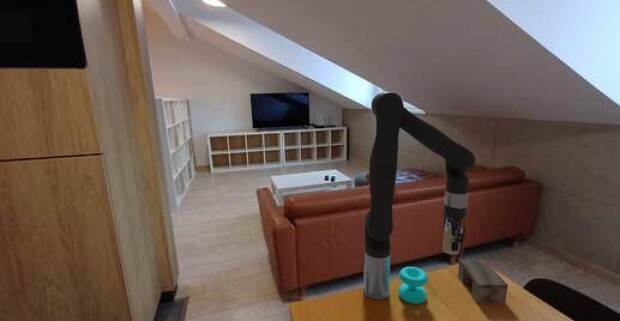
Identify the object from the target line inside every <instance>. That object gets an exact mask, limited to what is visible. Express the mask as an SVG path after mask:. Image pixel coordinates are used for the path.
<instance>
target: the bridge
mask: <svg viewBox="0 0 620 321" xmlns="http://www.w3.org/2000/svg"><path fill="white" fill-rule="evenodd" d="M457 272H458V273H457V277H458V278H459V280H460V281H461V282H462V283H472V287H471V297H472V299H473V300H474V301H475V303H477V304H506V302H507V301H506V299H507V293H508V286H509V285H508V284H507V283H506V281H505V280H504V279H503V278H502V277H501V276H500V275H499V274H498V273H497V271H496V270H495V269H494V268H493V267H492V266H491V265H490V264H489V262H488V261H487V260H485V259H459V263H458V271H457Z"/></svg>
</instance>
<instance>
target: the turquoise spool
mask: <svg viewBox="0 0 620 321" xmlns="http://www.w3.org/2000/svg"><path fill="white" fill-rule="evenodd" d="M399 279H400V281H402V284H400V286H399V287H398V295H399V296H400V298H401V299H402V300H403V301H405V302H406V303H409V304H413V305H414V304H415V305H418V304H422V303H424V302H425V301H426V300H427V297H428V296H427V291H426V290H425V288H424V286H425V285H426V284H427V283H428V280H429V277H428V274H427V272H426V271H424V270H423V269H421V268H420V267H415V266H405V267H403V268H402V269H401V270H400V271H399Z"/></svg>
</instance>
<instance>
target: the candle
mask: <svg viewBox="0 0 620 321" xmlns="http://www.w3.org/2000/svg"><path fill="white" fill-rule="evenodd" d="M453 233H456V231H453ZM451 246H452V235H451V234H450V227H449V226H447V227H445V229H444V232H443V243H442V251H443V253H446V254H448V255H451V256H452V255H453V256H454V255H455V256H456V255H459V254H460V249H461V248H460V246H461V243H459V248H458V251H452V250H451Z"/></svg>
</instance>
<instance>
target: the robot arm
mask: <svg viewBox="0 0 620 321" xmlns="http://www.w3.org/2000/svg"><path fill="white" fill-rule="evenodd" d="M370 106H371V111H372V113H373V114H374V116H375V126H376V128H375V129H376V130H375V139H374V142H373V144H372V145H373V146H372V149H371V153H370V157H369V166H368V168H369V171H368V183H369V192H370V209H369V211H368V212H367V213H366V214H365V218H364V266H363V292H364V296H365V298H369V299H372V300H378V301H381V300H385V299H387V298H388V297H389V294H390V277H391V276H390V274H391V273H390V272H391V271H390V270H391V252H392V251H391V237H390V236H391V235H392V233H393V230H394V224H393V223H394V222H393V221H394V220H393V204H394V202H393V201H394V196H395V189H396V188H395V187H396V182H397V181H396V180H397V175H398V174H397V172H398V158H399V157H398V156H399V155H398V154H399V135H400V129H402V130H403V131H404V132H405V133H406V134H408V135H410V136H411V137H412V138H414V140H416V141H417V142H419V143H420V144H421V145H422V146H424V147H426V149H427V150H429V151H431V152H432V153H434V154H435V155H437V156H439V157H441V158H443V159H444V164H445V173H446V182H445V184H446V185H445V193H444V197H443V199H444V200H443V210H442V214H443V216H442V228H443V229H444V230H445V227H447V226H449V227H450V234H451V235H452V246H451V250H452V251H458V248H459V243H460V244H461V243H462V244H463V243H464V239H465V234H466V228H465V227H462V226H463V225H462V221H463V220H464V219H465V218H466V217H467V211H468V201H469V194H468V193H469V185H470V179H469V176H467V174H466V171H468V170H471V169H472V168H473V167H474V166H475V164H476V156H475V155H474V153H473V151H471V150H470V149H468V148H467V147H464V145H461V144H460V143H458V142H456V141H454V140H453V139H452V138H450V137H449V136H448V135H447V134H446V133H444V132H443V131H441V130H440V129H438V128H437V127H436V126H434V125H432V124H431V123H429V122H427V121H426V120H424V119H422V118H420V117H419V116H416V115H415V114H414V113H413V112H411V111H409V110H408V109H407V108H406V107H405V106H404V100H403V99H402V97H401V96H400V95H399V94H398V93H396V92H393V91H382V92H379V93H378V94H376V95H375V96H374V97H373V99H372V100H371V105H370ZM453 231H456V233H453Z"/></svg>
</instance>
